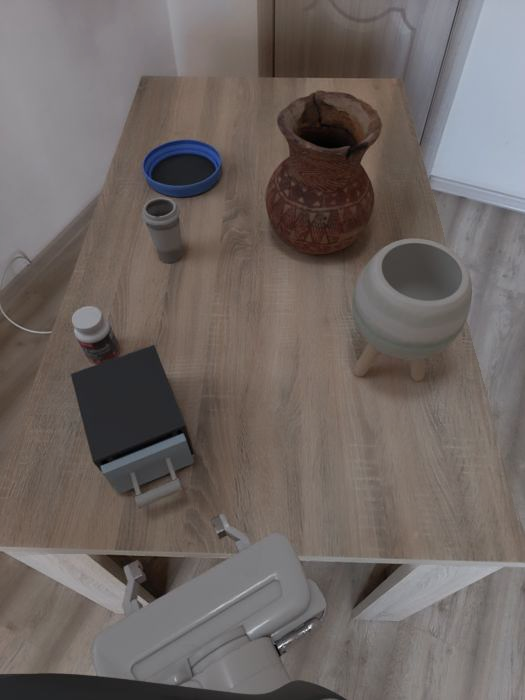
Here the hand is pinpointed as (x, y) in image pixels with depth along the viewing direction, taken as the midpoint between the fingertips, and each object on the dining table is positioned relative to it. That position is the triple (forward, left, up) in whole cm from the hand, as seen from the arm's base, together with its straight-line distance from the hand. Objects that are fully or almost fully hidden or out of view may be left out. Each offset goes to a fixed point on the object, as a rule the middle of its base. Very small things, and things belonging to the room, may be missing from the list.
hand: (175, 540), depth 49 cm
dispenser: (-1, +23, -18) cm, 29 cm away
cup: (+15, +58, -18) cm, 62 cm away
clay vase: (+45, +52, -18) cm, 71 cm away
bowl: (+26, +82, -18) cm, 88 cm away
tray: (-1, +18, -17) cm, 25 cm away
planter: (+41, +18, -18) cm, 48 cm away
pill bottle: (-3, +40, -18) cm, 44 cm away
